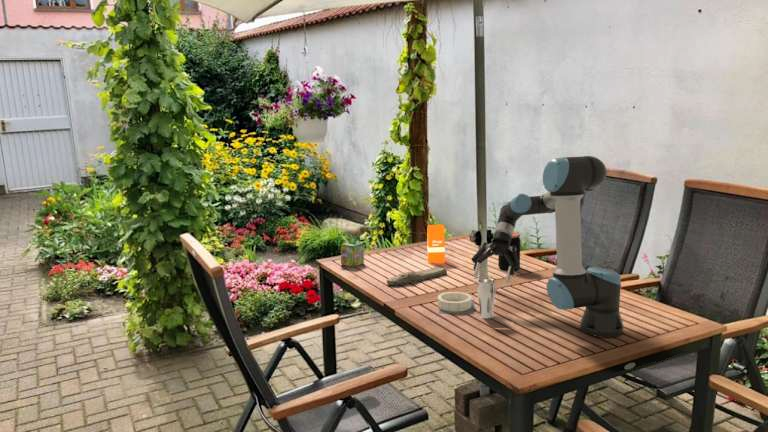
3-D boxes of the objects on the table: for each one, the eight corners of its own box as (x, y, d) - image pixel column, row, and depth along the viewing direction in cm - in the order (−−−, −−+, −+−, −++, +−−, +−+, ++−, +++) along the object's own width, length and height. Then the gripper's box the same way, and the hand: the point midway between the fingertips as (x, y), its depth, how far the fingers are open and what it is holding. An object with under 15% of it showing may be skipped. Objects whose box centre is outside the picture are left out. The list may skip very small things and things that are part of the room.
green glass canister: (340, 265, 318) (339, 238, 315) (351, 261, 325) (350, 235, 323) (354, 267, 313) (353, 240, 310) (364, 263, 320) (363, 236, 317)
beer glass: (491, 321, 233) (491, 284, 230) (474, 318, 236) (474, 282, 233) (497, 315, 238) (498, 279, 235) (481, 313, 242) (481, 277, 239)
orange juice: (444, 262, 317) (444, 226, 313) (428, 263, 317) (427, 226, 313) (443, 259, 325) (443, 223, 321) (427, 259, 325) (426, 223, 321)
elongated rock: (451, 277, 296) (439, 274, 304) (451, 267, 295) (439, 264, 303) (394, 288, 276) (382, 284, 285) (394, 276, 276) (382, 273, 284)
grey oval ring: (473, 315, 239) (473, 314, 239) (438, 314, 241) (438, 313, 241) (474, 300, 256) (474, 299, 256) (441, 300, 259) (441, 298, 259)
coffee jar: (522, 267, 305) (523, 232, 301) (515, 272, 296) (515, 237, 292) (502, 264, 310) (503, 230, 307) (495, 269, 302) (495, 235, 298)
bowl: (471, 312, 241) (471, 303, 240) (436, 311, 243) (436, 302, 242) (471, 301, 255) (471, 292, 254) (439, 300, 257) (438, 291, 256)
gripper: (533, 242, 248) (522, 287, 238) (477, 237, 260) (464, 280, 250) (530, 233, 242) (519, 278, 232) (472, 228, 254) (459, 271, 245)
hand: (490, 279), depth 241 cm, fingers open, 13 cm apart
